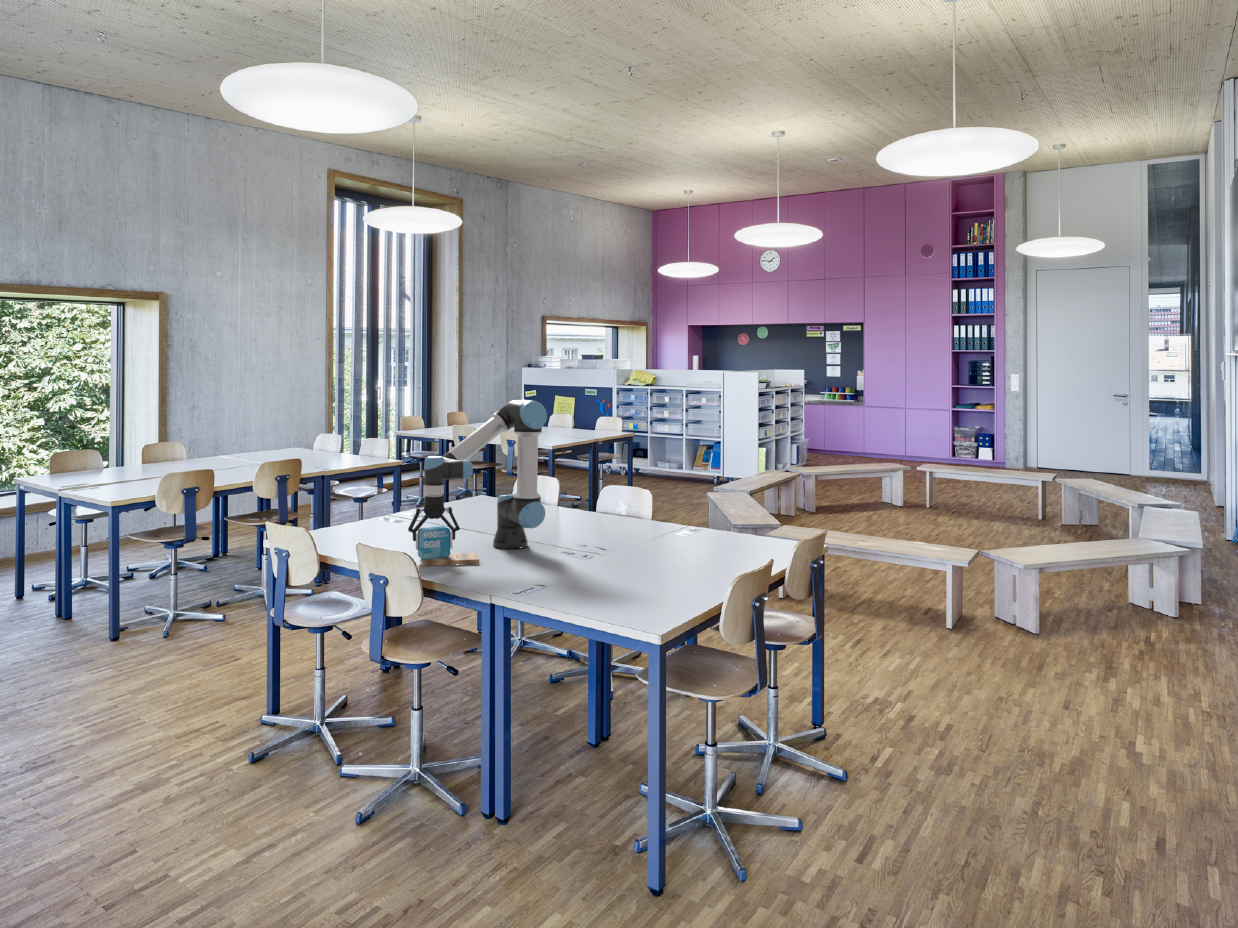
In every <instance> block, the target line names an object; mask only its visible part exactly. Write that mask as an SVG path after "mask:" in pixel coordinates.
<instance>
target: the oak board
mask: <svg viewBox="0 0 1238 928" xmlns="http://www.w3.org/2000/svg"><path fill="white" fill-rule="evenodd" d="M419 558H420V557H419ZM420 559H421V560H420V563H421V562H422V563H421V565H422V567H423V566H428V567H437V566H436V565H451V566H457V565H456V564H475V565H480V558H479V557H478V555H477V553H476V552H455V553H450V555H449V557H446V558H436V559H427V560H424V559H422V558H420Z"/></svg>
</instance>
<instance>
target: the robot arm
mask: <svg viewBox="0 0 1238 928" xmlns="http://www.w3.org/2000/svg"><path fill="white" fill-rule="evenodd" d="M547 419H548V413H547V410H546V408H545V406H544V405H543V404H542V403H541V402H539V401H537V400H533V399H513V400H510V401H509V402H507V403H505V404H504V405H502V406H501V407H500V408H498V409H497V410H495V411H494V413H492V414H491V418H489V419H488V420H487V421H485V423H483V424H482V425H481V426H479V427H478V428H476V429H475V430H474V431H473V432H472V433H470V434H469V435H468V436H466V437H465V438H464V439H463V440H461V441H460V442H459V443H458V444H456V445H455V446H453V447H452V448H451V449H450V450H449V451H447V452H446V453H445V454H443V455H442V456H441V455H440V456H439V455H429V456H425V459H424V466H423V469H424V470H423V471H424V495H425V496H423V498H424V503H423V505H424V507H423V508H422V507H421V508H420V507H418V506H417V507H416V508H415V514H414V516H413V518H412V520H411V522H410V524H409V526H408V528H407V531H408V532H409V533H412V541H413V542H415V550H416V551H418V530H419V529H420V528H422V526H423V525H424V523H426V521H427V520H428V519H430V520H434V519H435V520H438V519H441V520H442V521H443V522H444V523H445V524H446V526H447V528H449V529H450V550H451V549H453V541H454V540H456V532H457V531H460V526H459V524H458V522H457V520H456V518H455V516H454V513H453V508H452V507H451V506H449V507H445V496H444V494H445V481H448V480H464V479H465V480H466V479H470V478H471V477H472V476H473V472H474V467H473V463H472V462H471V461H470V460H469V459H470V458H471V457H473V456H474V455H475V454H476V453H478V452H479V451H481V450H482V449H483V448H484V447H485V446H487V444H489V443H490V442H492V441H493V440H494V439H495V438H497V437H498V436H499V435H500V434H501V433H507V432H508V431H509V430H511V429H513V432H514V434H516V436H517V455H516V456H517V465H516V468H517V469H516V470H517V473H516V474H517V475H516V476H517V479H516V492H515V493H510V494H501V495H498V497H497V504H496V506H497V507H496V509H497V510H496V511H497V512H496V513H497V515H496V517H497V519H496V522H497V523H496V524H497V525H496V526H497V528H496V530H495V531H496V532H495V534H494V538H493V541H492V546H493V547H494V548H496V547H498V548H497V549H500V548H502V550H515V549H514V548H520V547H525V548H527V547H528V546H529V545H528V544H529V543H528V541H529V540H528V538H527V536H526V531H525V529H535V528H538V527H539V526H540V525H541V524H542V523H543V522H544V520H545V518H546V509H545V507H544V505H543V504H542V502H541V501H542V498H541V495H540V494H539V492H538V470H539V469H538V467H539V466H538V464H539V463H538V462H539V461H538V460H539V457H538V456H539V453H538V452H539V436H540V435H541V434H542V433H543V430H542V429H543V427H544V425H545V424H546V422H547ZM445 512H446V513H448V514H449V517H450V518H451V520H452V523H453V524H454V526H453V524H451V522H450V521H449V520H448V519H447V518H446V517H445V516H444V513H445ZM422 513H424V514H425V515H424V516H423V517H422V519H420V520H419V522H418V523H417V524H416V522H417V521H418V518H419V516H420V514H422ZM415 524H416V525H415ZM527 545H528V546H527ZM526 546H527V547H526ZM520 549H521V548H520Z"/></svg>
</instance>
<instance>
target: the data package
mask: <svg viewBox="0 0 1238 928" xmlns="http://www.w3.org/2000/svg"><path fill="white" fill-rule="evenodd" d="M450 531H451V529H450V528H449V527H448V526H447V527H446V526H444V525H441V526H429V527H420V528H419V529H418V531H417V532H418V550H417V556H418V558H422V559H424V560H427V559H436V558H446V557H449V555H450V554H451V548H450Z"/></svg>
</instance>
